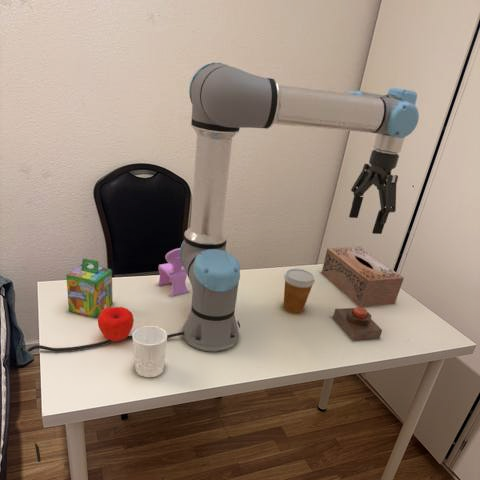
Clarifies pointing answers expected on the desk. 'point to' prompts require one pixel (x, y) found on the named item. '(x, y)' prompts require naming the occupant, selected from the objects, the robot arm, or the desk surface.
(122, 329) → the apple
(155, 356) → the white cup
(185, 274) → the toy chair
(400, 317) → the desk surface
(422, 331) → the desk surface
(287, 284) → the disposable coffee cup
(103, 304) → the chalk box
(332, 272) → the tissue box cover
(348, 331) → the console
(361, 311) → the button
